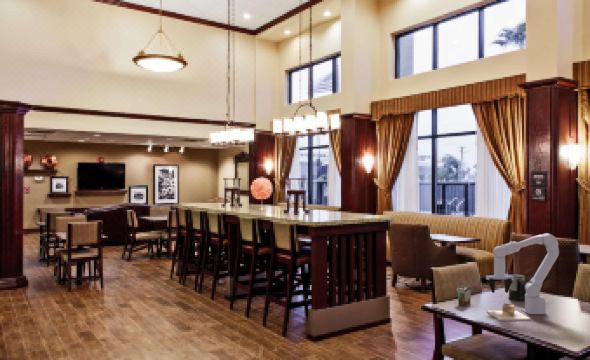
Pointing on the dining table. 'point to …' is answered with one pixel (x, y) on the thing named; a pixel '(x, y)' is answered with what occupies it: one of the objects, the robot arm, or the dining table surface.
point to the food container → (464, 295)
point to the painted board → (516, 317)
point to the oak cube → (508, 309)
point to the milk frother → (517, 288)
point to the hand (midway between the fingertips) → (499, 292)
